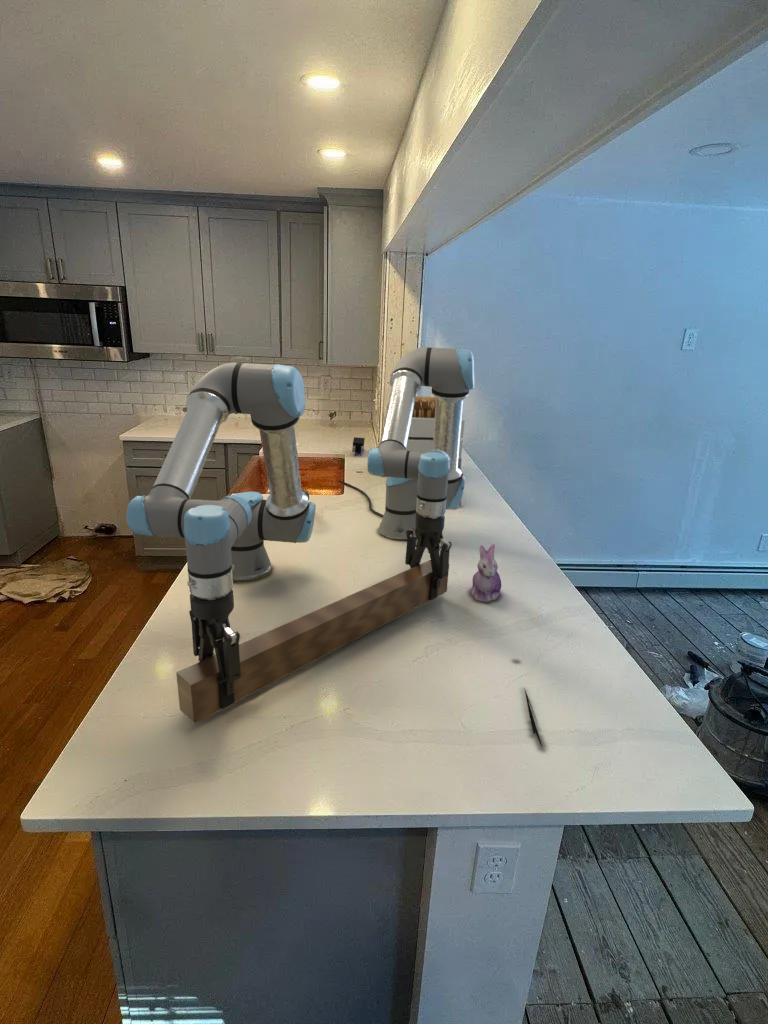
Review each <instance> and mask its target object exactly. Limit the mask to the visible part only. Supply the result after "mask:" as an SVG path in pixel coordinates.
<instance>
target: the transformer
mask: <svg viewBox="0 0 768 1024" xmlns="http://www.w3.org/2000/svg"><path fill="white" fill-rule="evenodd" d="M435 406H436V397H435V396H417V395H416V399H415V405H414V410H413V416H412V421H411V426H410V432H409V437H408V443H407V448H406V451H417V452H431V451H433V439H434V423H435ZM387 408H388V404H387V405H386V409H387ZM464 429H465V419H464V418H462V421H461V433H460V445H459V457H458V468H459V469H460V470H461V471H462V461H463V460H462V453H463V442H464V441H463V440H462V439H463V438H464V431H465V430H464Z"/></svg>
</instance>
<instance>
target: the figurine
mask: <svg viewBox="0 0 768 1024" xmlns="http://www.w3.org/2000/svg"><path fill="white" fill-rule="evenodd" d="M478 548H479V549H478V550H479V560H478V561H477V562H478V563H477V571H476V572H475V573H474V574H473V576H472V586H471V595H472V596H473V597H474V599H475V600H476V601H478V602H479V601H480V602H484V603H486V602H487V603H488V602H490V601H494V600H495V601H496V599H497V598H498V597H499V596H500V593H501V589H502V579H501V576H500V574H499V572H498V568H499V566H498V563H497V560H496V558H495V553H496V550H495V549H496V544H494V543H492V544H491V545H490V546H489V548H488V550H486V548H485V546H484V545H483V544H480V545H479V547H478Z"/></svg>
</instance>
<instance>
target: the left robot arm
mask: <svg viewBox="0 0 768 1024" xmlns="http://www.w3.org/2000/svg"><path fill="white" fill-rule="evenodd" d="M185 407H186V412H185V414H184V416H183V419H182V421H181V423H180V426H179V428H178V429H177V431H176V434H175V436H174V438H173V441H172V443H171V445H170V447H169V450H168V452H167V454H166V456H165V459H164V461H163V463H162V466H161V468H160V469H159V472H158V475H157V477H156V478H155V481H154V483H153V485H152V487H151V490H150V492H149V494H148V495H147V494H143V495H136V496H134V497H133V498H131V500H130V501H129V503H128V505H127V509H126V524H127V526H128V527H129V529H130V531H131V532H132V533H134V534H136V535H142V536H147V537H153V538H155V537H161V538H162V537H165V538H181V539H183V538H184V544H185V554H186V563H187V574H188V575H187V576H188V577H187V578H188V580H187V582H186V583H187V584H186V585H187V586H188V588H189V603H190V610H189V611H188V613H189V618H190V622H191V636H192V652H193V656H195V657H198V662H201V661H203V660H205V659H207V658H210V657H212V656H214V655H216V658H217V662H218V667H219V672H220V677H221V678H219V679H218V680H217V681H218V684H219V699H220V708H221V711H223V710H224V709H226V708H228V707H230V706H232V705H234V704H235V703H236V702H235V699H234V681H235V680H237V679H239V678H241V668H240V654H239V644H240V639H241V634H240V632H239V631H235V632H233V630H232V629H231V623H230V620H229V616H230V615H231V613H232V612H233V610H234V608H235V601H234V600H235V599H234V590H233V589H234V582H250V581H251V582H252V581H256V580H259V579H263V578H265V577H266V576H267V575H268V574H270V572H271V569H272V563H271V560H270V556H269V554H268V552H267V549H266V546H265V542H264V541H268V542H282V543H294V544H297V543H299V544H300V543H302V544H303V543H305V544H306V543H307V542H309V541H310V539H311V538H312V533H313V531H314V529H313V528H314V525H315V517H316V509H317V507H316V503H315V502H312V501H309V500H308V497H307V495H306V494H305V493H304V492H303V491H302V490H301V489H302V482H301V473H300V464H299V455H298V447H297V438H296V427H295V426H296V425H297V423H298V422H299V421H300V417H302V416H303V415H304V413H305V409H306V389H305V383H304V380H303V377H302V374H301V373H300V371H299V370H298V369H297V368H296V367H294V366H291V365H282V364H279V363H275V364H268V363H267V364H264V363H248V362H247V363H246V362H227V363H223V364H221V365H218V366H216V367H215V368H213V369H211V370H210V371H208V372H207V373H205V375H204V374H203V376H202V377H201V378H200V379H199V380H198V381H197V382H196V383H195V385H194V386H193V387H192V389H190V392H189V394H188V396H187V399H186V401H185ZM233 414H243V415H250V420H251V424H252V425H253V426H254V428H256V429H258V430H259V437H260V441H261V448H262V449H261V450H262V455H263V460H264V468H265V472H266V479H267V484H268V491H269V495H268V496H267V498H266V499H264V496H263V494H262V493H261V492H258V491H243V492H237V493H234V494H230V495H225V496H224V497H221V498H219V499H217V500H213V499H212V500H210V499H196V498H195V499H194V498H192V497H193V494H194V492H195V489H196V487H197V484H198V482H199V479H200V476H201V474H202V471H203V469H204V466H205V463H206V461H207V459H208V457H209V454H210V451H211V448H212V446H213V443H214V442H215V438H216V436H217V433H218V431H219V428H220V427H221V425H222V424H223V423H225V422H226V421H227V420H228V418H229V416H230V415H233Z"/></svg>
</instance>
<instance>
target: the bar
mask: <svg viewBox="0 0 768 1024" xmlns="http://www.w3.org/2000/svg"><path fill="white" fill-rule="evenodd" d="M449 570H450V566H449V567H448V573H449V572H450V571H449ZM431 577H433V573H432V566H431V559H429V560H427V561H424V562H422V563H420V565H417V566H415V567H413V568H408V569H406V570H404V571H401V572H399V573H397V574H395V575H393V576H390V577H388V578H387V579H384V580H381V581H379V582H377V583H375V584H371V585H370V586H367V587H366V588H363V589H361V590H359V591H356V592H354V593H352V594H350V595H348V596H345V597H343V598H341V599H338V600H336V601H334V602H332V603H330V604H327V605H325V606H323V607H320V608H318V609H316V610H313V611H311V612H309V613H306V614H305V615H302V616H300V617H298V618H295V619H294V620H291V621H289V622H286V623H284V624H281V625H280V626H277V627H275V628H273V629H270V630H269V631H266V632H264V633H262V634H259V635H257V636H254V637H253V638H251V639H248V640H246V641H244V642H242V643H239V654H240V668H241V678H239V679H237V680H235V681H234V699H235V703H237V702H238V701H240V700H242V699H245V698H246V697H248V696H250V695H252V694H254V693H256V692H258V691H259V690H261V689H263V688H265V687H268V686H269V685H271V684H272V683H274V682H276V681H279V680H280V679H282V678H284V677H286V676H288V675H291V674H292V673H294V672H295V671H298V670H300V669H302V668H303V667H305V666H307V665H309V664H311V663H313V662H315V661H317V660H318V659H320V658H323V657H324V656H326V655H328V654H331V653H333V652H334V651H336V650H338V649H340V648H342V647H343V646H345V645H348V644H349V643H351V642H354V641H356V640H357V639H359V638H361V637H363V636H365V635H366V634H367V635H368V633H370V632H373V631H374V630H377V629H379V628H380V627H383V626H385V625H386V624H388V623H390V622H392V621H393V620H395V619H398V618H399V617H402V616H404V615H405V614H407V613H409V612H411V611H413V610H415V609H416V608H418V607H420V606H422V605H425V604H426V603H428V602H431V601H430V600H429V588H430V578H431ZM448 582H449V575H448V576H446V577H444V578H442V579H441V583H440V588H439V589H438V593H437V598H438V597H440V596H441V595H443V594H446V593H447V592H448V584H449V583H448ZM175 674H176V683H177V695H178V703H179V711H181V712H182V713H183V714H184V716H185V717H187V718H188V719H189V720H190V722H192V723H193V724H196V723H198V722H200V721H202V720H204V719H205V718H207V717H210V716H211V715H214V714H215V713H217V712H219V711H222V709H221V708H220V699H219V684H218V681H217V680H218V679H219V678H221V677H220V672H219V667H218V662H217V658H216V654H215V655H214V656H212V657H210V658H207V659H205V660H203V661H201V662H199V661H198V662H197V663H196V662H195V663H193V664H191V665H190V666H187V667H184V668H182V669H180V670H178V671H176V673H175Z"/></svg>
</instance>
